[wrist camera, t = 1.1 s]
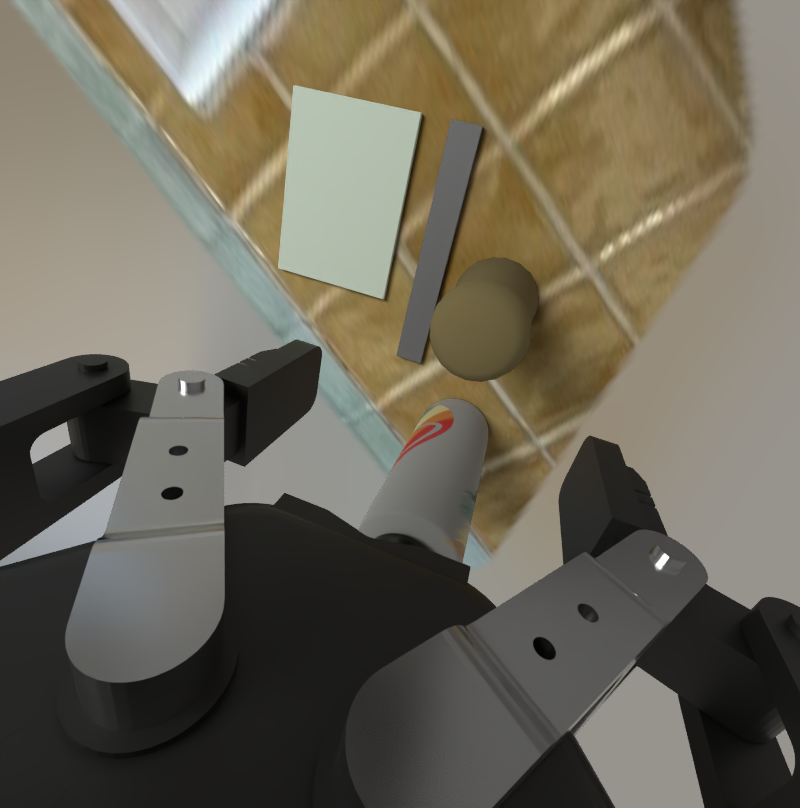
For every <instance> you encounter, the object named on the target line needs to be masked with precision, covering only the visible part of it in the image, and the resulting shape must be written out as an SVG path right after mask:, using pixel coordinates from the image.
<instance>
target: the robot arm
mask: <svg viewBox="0 0 800 808" xmlns="http://www.w3.org/2000/svg"><path fill="white" fill-rule="evenodd" d="M321 359H322V350H321V348H320V347H319V346H316V345H312V344H309V343H306V342H303V341H300V340H294V341H292V342H290V343H288V344H286V345H284V346H283V347H281V348H279V349H273V350H267V351H262V352H259V353H257V354H255V355H253V356H251V357H249V359H248V358H247V359H245V360H243V361H241V362H240V364H239V363H237V364H235V365H233V366H231V367H229V368H227V369H225V370H223V371H221V372H219V373H216V374H214V375H213V374H210V373H206V372H202V371H179V372H174V373H171V374H168V375H166V376H164V377H162V378H161V379H160V381H159V383H158V384H155V383H148V382H142V381H136V380H130V372H129V364H128V363H127V362H126V361H125V360H123V359H121V358H118V357H115V356H110V355H101V354H99V355H98V354H90V355H81V356H75V357H71V358H67V359H64V360H61V361H58V362H56V363H53V364H50V365H47V366H44V367H41V368H38V369H35V370H32V371H29V372H26V373H23V374H20V375H17V376H14V377H11V378H9V379H6V380H3V381H0V560H2V559H3V558H4V557H6V556H7V555H9V554H10V553H12V552H13V551H15V550H16V549H17V548H19V547H20V546H22V545H23V544H25V543H26V542H28V541H29V540H30V539H32V538H33V537H34V536H36V535H38V534H39V533H40V532H42V531H43V530H45V529H46V528H48V527H49V526H51V525H52V524H53V523H55V522H56V521H58V520H59V519H61V518H62V517H64V516H65V515H67V514H68V513H69V512H71V511H72V510H74V509H75V508H77V507H78V506H80V505H81V504H82V503H84V502H85V501H86V500H88V499H90V498H91V497H92V496H94V495H95V494H97V493H98V492H100V491H101V490H103V489H104V488H105V487H107V486H108V485H110V484H111V483H113V482H114V481H116V480H117V479H118V478H120V477H121V476H122V478H121V481H120V485H119V488H118V491H117V495H116V498H115V501H114V505H113V508H112V511H111V515H110V518H109V521H108V524H107V528H106V531H105V533H104V535H103V536H102V537H101V538H98V539H97V540H96V541H92V542H89V543H85V544H82V545H78V546H74V547H71V548H67V549H64V550H60V551H56V552H52V553H49V554H45V555H41V556H38V557H34V558H31V559H27V560H23V561H20V562H16V563H13V564H9V565H5V566H1V567H0V808H615V806H614V805H613V803H612V801H611V799H610V798H609V796H608V794H607V793H606V791H605V789H604V787H603V785H602V784H601V782H600V780H599V778H598V777H597V775H596V773H595V771H594V770H593V768H592V766H591V764H590V762H589V761H588V759H587V757H586V755H585V754H584V752H583V750H582V749H581V747H580V745H579V743H578V741H577V740H576V738H575V735H576V734H577V733H578V732H579V731H580V730H581V728H582V727H583V726H584V725H585V724H586V722H587V721H588V720H589V719H590V718H591V717H592V716H593V715H594V714H595V712H596V711H597V710H598V709H599V708H600V707H601V706H602V705H603V704H604V702H605V701H606V700H607V699H608V698H609V697H610V696H611V695H612V694H613V693H614V691H615V690H616V689H617V688H618V687H619V686H620V685H621V684H622V682H623V681H624V680H625V679H626V678H627V677H628V676H629V675H630V674H631V673H632V672H633V670H634V669H635V668H636V667H637V666H638V667H640V668H641V669H642V670H644V671H645V672H647V673H648V674H650V675H651V676H653V677H654V678H656V679H657V680H658V681H660V682H661V683H663V684H664V685H666V686H667V687H668V688H670V689H672V690H673V691H674V692H676V693H677V694H678V698H679V702H680V707H681V711H682V715H683V719H684V723H685V728H686V732H687V736H688V740H689V744H690V749H691V753H692V756H693V761H694V765H695V770H696V774H697V778H698V781H699V786H700V791H701V795H702V798H703V803H704V807H705V808H800V607H798V606H796V605H794V604H792V603H790V602H787V601H785V600H782V599H778V598H774V597H765V598H763V599H761V600H760V601H759V602H758V603H757V604H756V605H755V606H754V607H753V608H752V609H751V610H750V609H748V608H746V607H745V606H743V605H741V604H739V603H737V602H736V601H734V600H732V599H730V598H729V597H727V596H725V595H723V594H722V593H720V592H718V591H716V590H714V589H713V588H711V587H710V586H708V585H707V584H706V582H707V580H708V575H707V572H706V569H705V568H704V566H703V565H702V563H701V562H700V561H699V559H698V558H697V557H696V556H695V555H694V554H693V553H692V552H691V551H690V550H688V549H687V548H686V547H685V546H683V545H682V544H680V543H679V542H677V541H676V540H674V539H672V538H670V537H668V535H667V533H666V530H665V528H664V526H663V523H662V521H661V518H660V516H659V513H658V511H657V509H656V508H655V504H654V501H653V499H652V498H651V497H650V496H651V494H650V491H649V490H648V487H647V485H646V482H645V481H644V480H643V479H642V478H641V477H640V475H639V474H638V473H637V472H636V471H635V470H634V469H633V468H630V467H627V466H626V464H625V461H624V459H623V456H622V453H621V450H620V447H619V446H618V445H617V444H614V443H611V442H608V441H605V440H602V439H599V438H596V437H592V436H588V437H587V438H586V439H585V441H584V442H583V444H582V446H581V448H580V450H579V452H578V454H577V456H576V458H575V460H574V462H573V464H572V466H571V468H570V470H569V472H568V473H567V475H566V477H565V479H564V482H563V484H562V487H561V490H560V494H559V512H560V525H561V537H562V550H563V564H564V565H563V566H561V567H559V568H558V569H556V570H555V571H553V572H552V573H550V574H548V575H547V576H545V577H544V578H542V579H541V580H539V581H538V582H536V583H534V584H533V585H531V586H530V587H528V588H526V589H525V590H523V591H522V592H520V593H519V594H517V595H515V596H514V597H512V598H511V599H509V600H508V601H506V602H505V603H503V604H501V605H500V606H498V607H496V606H495V605H494V604H493V603H492V602H491V601H490V600H489V599H488V598H487V597H486V596H484V595H483V594H482V593H481V592H480V591H478V590H477V589H476V588H475V587H473V586H472V585H470V584H469V583H467V582H468V577H469V572H470V566H468V565H465V564H463V563H460V562H458V561H455V560H453V559H450V558H448V557H445V556H443V555H440V554H437V553H435V552H432V551H430V550H427V549H425V548H422V547H417V546H412V545H406V544H401V543H396V542H390V541H385V540H379V539H374V538H371V537H368V536H366V535H364V534H363V533H361V532H360V531H358V530H357V529H355V528H354V527H352V526H351V525H349V524H348V523H346V522H345V521H343V520H342V519H340V518H339V517H337V516H336V515H334V514H333V513H331V512H330V511H328V510H326V509H324V508H321V507H319V506H316V505H314V504H311V503H309V502H306V501H303V500H301V499H299V498H296V497H294V496H291V495H289V494H286V493H284V494H283V495H282V496H281V498H280V499H279V500H278V501H277V502H276V503H275V504H274V505H270V504H259V503H242V504H233V505H226V506H224V462H225V461H226V460H229V461H231V462H234V463H236V464H239V465H241V466H244V467H245V466H246V465H247V464H248V463H249V462H251V461H252V460H253V459H254V458H255V457H256V456H257V455H258V454H260V453H261V452H262V451H263V450H264V449H266V448H267V447H268V446H269V445H270V444H271V443H273V442H274V441H275V440H276V439H277V438H278V437H280V436H281V435H282V434H283V433H284V432H285V431H286V430H288V429H289V428H290V427H291V426H292V425H294V424H295V423H296V422H297V421H298V420H299V419H301V418H302V417H303V416H304V415H305V414H306V413H307V412H308V411H309V410H310V409H311V407H312V406H313V404H314V401H315V398H316V394H317V388H318V380H319V373H320V366H321ZM65 422H67V425H68V431H69V436H70V441H71V444H69V445H67V446H65V447H63V448H62V449H60V450H58V451H56V452H54V453H52V454H50V455H49V456H47V457H45V458H43V459H41V460H39V461H37V462H36V463H34V464H32V462H31V457H30V450H31V446H32V444H33V443H34V441H35V440H36V439H37V438H38V437H39V436H40V435H41V434H43V433H44V432H46V431H48V430H50V429H52V428H55V427H57V426H59V425H61V424H63V423H65ZM784 729H786V731H787V733H788V735H789V738H790V740H791V743H792V745H793V749H794V753H795V769H794V773H793V775H792V776H791V773H790V771H789V768H788V766H787V763H786V761H785V758H784V756H783V754H782V751H781V749H780V746H779V744H778V742H777V739H776V736H777V735H778V734H780V733H781V732H782V731H783V730H784Z"/></svg>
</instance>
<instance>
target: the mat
mask: <svg viewBox="0 0 800 808" xmlns="http://www.w3.org/2000/svg"><path fill="white" fill-rule="evenodd" d="M422 115H423V114H422V113H420V112H416V111H411V110H406V109H402V108H397V107H392V106H388V105H383V104H379V103H374V102H369V101H365V100H360V99H355V98H351V97H346V96H342V95H337V94H332V93H328V92H323V91H318V90H314V89H309V88H305V87H300V86H295V85H294V86H293V98H292V110H291V122H290V134H289V146H288V158H287V170H286V181H285V193H284V205H283V217H282V229H281V241H280V253H279V264H278V268H280V269H283V270H286V271H290V272H293V273H296V274H300V275H303V276H306V277H310V278H313V279H317V280H320V281H323V282H327V283H330V284H333V285H337V286H340V287H343V288H347V289H350V290H353V291H357V292H360V293H363V294H367V295H370V296H374V297H377V298H380V299H385V295H386V291H387V286H388V281H389V276H390V271H391V266H392V261H393V256H394V251H395V247H396V242H397V237H398V232H399V227H400V222H401V217H402V212H403V208H404V203H405V198H406V193H407V188H408V183H409V178H410V173H411V168H412V164H413V159H414V154H415V149H416V144H417V139H418V134H419V129H420V124H421V120H422Z"/></svg>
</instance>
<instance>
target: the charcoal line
mask: <svg viewBox="0 0 800 808" xmlns="http://www.w3.org/2000/svg"><path fill="white" fill-rule="evenodd" d="M482 130H483V126H480V125H476V124H471V123H466V122H462V121H457V120H453V119H451V123H450V127H449V132H448V136H447V140H446V145H445V149H444V153H443V158H442V162H441V166H440V171H439V175H438V179H437V183H436V188H435V192H434V196H433V201H432V205H431V209H430V214H429V218H428V222H427V227H426V231H425V235H424V239H423V244H422V248H421V252H420V257H419V261H418V265H417V270H416V274H415V278H414V283H413V287H412V291H411V295H410V300H409V304H408V308H407V313H406V317H405V321H404V326H403V330H402V334H401V339H400V343H399V347H398V351H397V356H399V357H402V358H405V359H409V360H412V361H415V362H418V363H421V362H422V358H423V354H424V350H425V346H426V343H427V339H428V335H429V331H430V323H431V318H432V316H433V313H434V311H435V308H436V305H437V301H438V297H439V293H440V289H441V286H442V282H443V278H444V274H445V270H446V267H447V263H448V259H449V255H450V251H451V248H452V244H453V240H454V236H455V232H456V229H457V225H458V221H459V217H460V213H461V210H462V206H463V202H464V198H465V194H466V191H467V187H468V183H469V179H470V175H471V172H472V168H473V164H474V160H475V156H476V153H477V149H478V145H479V141H480V137H481V134H482Z"/></svg>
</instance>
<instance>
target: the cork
mask: <svg viewBox="0 0 800 808" xmlns="http://www.w3.org/2000/svg"><path fill="white" fill-rule="evenodd" d="M538 301H539V296H538V290H537V285H536V283H535V281H534V279H533V277H532V276H531V274H530V272H529V271H527V270H526V269H525V268H524V267H523V266H522V265H521V264H519V263H517V262H515V261H512V260H510V259H507V258H489V259H486V260H482V261H479V262H477V263H476V264H474V265H473V266H471V267H470V268H468V269H467V270H466V271H465V272H464V274H463V275H462V276H461V277H460V279H459V280H458V282H457V285H456V287H455V288H454V289H453V290H451V291H449V292H448V293H446V295H445V296H444V297H443V298H442V300H441V301H440V302H439V303H438V304H437V306H436V308H435V311H434V313H433V316H432V318H431V323H430V340H431V344H432V348H433V352H434V354H435V355H436V357H437V358H438V360H439V362H440V363H441V365H443V366H444V367H445V368H446V369H447V370H448V371H449V372H451V373H452V374H454V375H456V376H458V377H460V378H463V379H465V380H471V381H479V382H482V381H487V380H493V379H497V378H498V377H500V376H502V375H504V374H506V373H508V372H510V371H511V370H512V369H513V368H514V367H515V366H516V365H517V364H519V363H520V362H521V361H522V359H523V357H524V356H525V354H526V352H527V350H528V348H529V346H530V340H531V334H532V324H531V322H532V320H533V318H534V316H535V314H536V312H537V307H538Z"/></svg>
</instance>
